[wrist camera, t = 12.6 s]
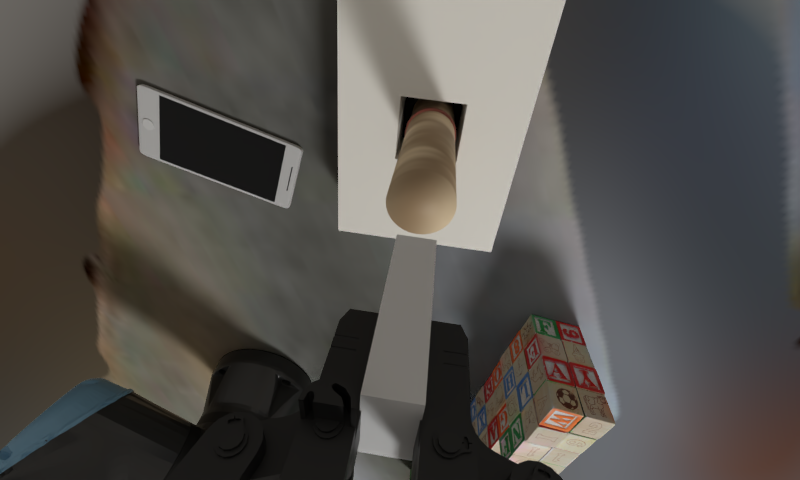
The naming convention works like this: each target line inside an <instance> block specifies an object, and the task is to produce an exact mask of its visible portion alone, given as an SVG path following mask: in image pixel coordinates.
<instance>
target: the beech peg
mask: <svg viewBox="0 0 800 480" xmlns="http://www.w3.org/2000/svg"><path fill="white" fill-rule="evenodd" d="M455 140H456V127H455V122H454V108H453V105H452V103H451V102H443V101H435V100H427V99H418V100H417V102H416V103H415V105H414V108H413V111H412V114H411V117H410V119H409V121H408V123H407V126H406V129H405V137H404V140H403V143H402V147H401V150H400V153H399V157H398V160H397V163H396V166H395V170H394V173H393V176H392V179H391V183H390V186H389V189H388V192H387V196H386V209H387V212H388V214H389V216H390V218H391V219H392V221H393V222H394V223H395V224H396V225H397V226H399V227H400V228H402V229H403V230H405V231H407V232H410V233H414V234H430V233H434V232H437V231H439V230H441V229H443V228H444V227H446V226H447V225H448V224H449V223H450V222H451V220H452V219H453V217H454V215H455V212H456V207H457V196H456V159H455Z"/></svg>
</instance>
